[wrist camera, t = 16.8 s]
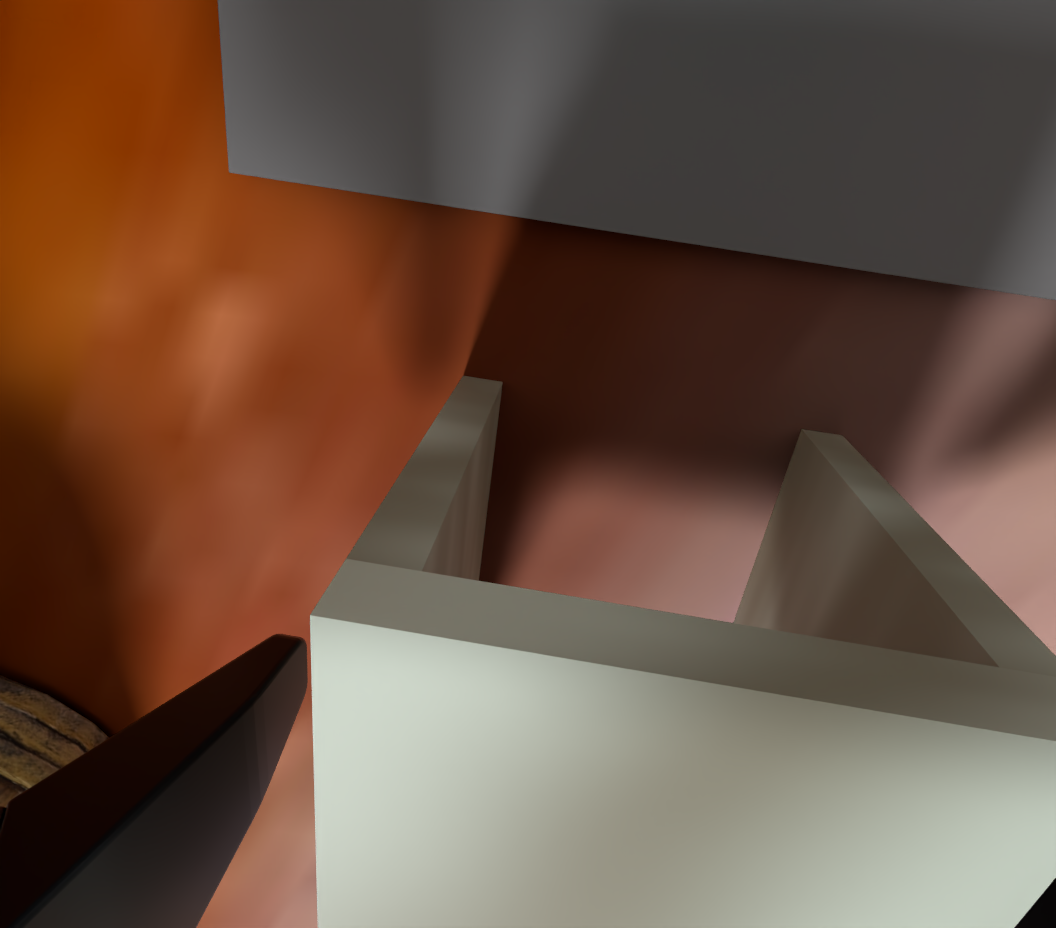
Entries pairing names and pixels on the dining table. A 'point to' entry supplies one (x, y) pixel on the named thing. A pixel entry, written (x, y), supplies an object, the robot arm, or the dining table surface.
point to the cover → (676, 725)
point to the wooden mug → (38, 737)
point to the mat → (677, 120)
